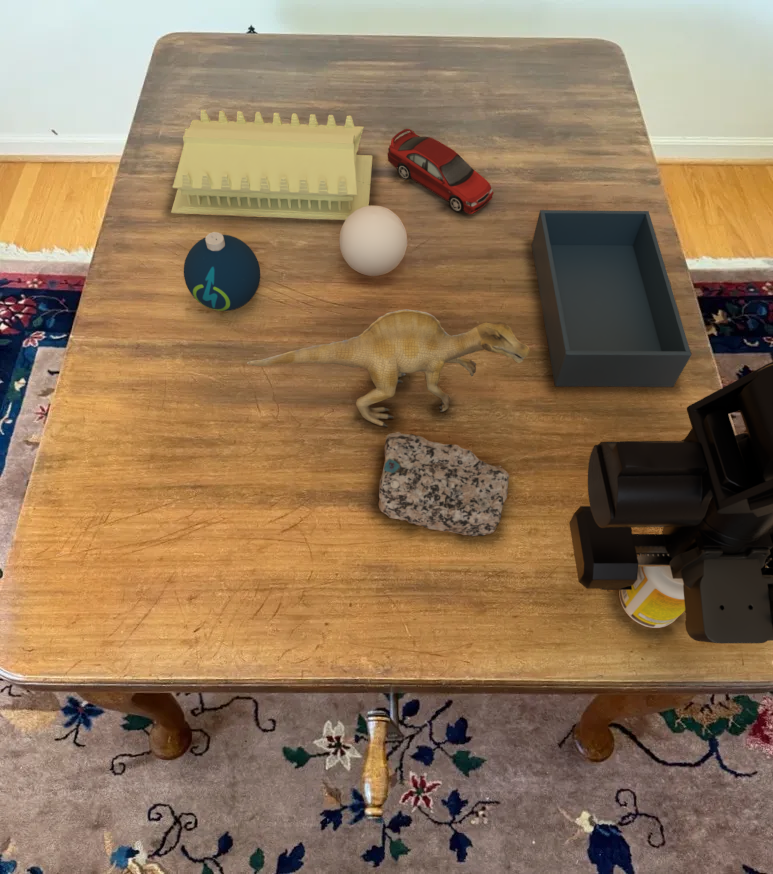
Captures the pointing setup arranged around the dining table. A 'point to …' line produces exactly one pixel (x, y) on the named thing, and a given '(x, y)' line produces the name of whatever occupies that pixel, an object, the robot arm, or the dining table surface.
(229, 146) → the model building
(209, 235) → the christmas ornament
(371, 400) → the dinosaur figurine
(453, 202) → the toy car
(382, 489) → the rock
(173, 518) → the dining table surface
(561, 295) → the storage tote
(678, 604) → the supplement bottle
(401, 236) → the ball
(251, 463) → the dining table surface
